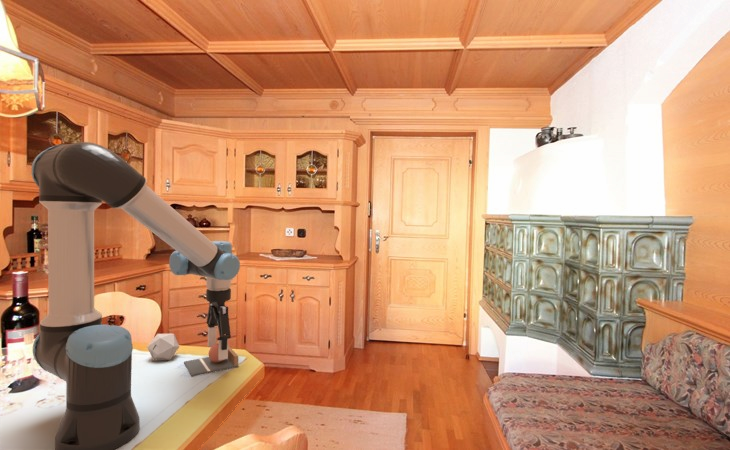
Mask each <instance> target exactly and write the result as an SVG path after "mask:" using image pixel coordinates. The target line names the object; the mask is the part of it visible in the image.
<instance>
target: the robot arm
mask: <svg viewBox="0 0 730 450" xmlns="http://www.w3.org/2000/svg"><path fill="white" fill-rule="evenodd" d="M30 169H31V170H30V172H31V177H32V179H33V181H34V183H35V184H36V186H37V188H38V194H39V195H38V197H39V199H38V201H39V202H38V203H39V204H41V205H42V206H43V207H44V208H46V210H47V219H48V220H47V234H48V235H47V237H48V238H47V240H48V241H47V254H48V255H47V256H48V257H47V259H48V261H47V263H48V265H47V266H48V267H47V268H48V269H47V270H48V272H47V274H48V277H47V278H48V279H47V280H48V283H47V284H48V285H47V286H48V313H47V315H46V316H44V317H43V318H42V319H41V320H40V322H39V333H38V334H37V336H36V337H35V338H34V341H33V344H32V356H33V358H34V360H35V361H36V364H38V366H39V367H40V368H41V369H42V370H44V371H45V372H48V373H49V374H52V375H53V376H56V378H57V377H58V378H59V379H61V380H63V381H65V383H66V389H65V391H66V393H65V394H66V395H65V397H66V406H65V411H64V414H63V417H62V419H61V423H60V424H59V427H58V430H57V432H56V435H55V441H54V449H55V450H116V449H118V448H120V447H122V446H124V445H125V444H126V443H128V442H130V441H132V439H134V438H135V436H136V435H137V434H138V433H139V430H140V421H141V420H140V415H139V412H138V410H137V407H136V405H135V403H134V400H133V397H132V369H133V368H132V367H133V365H132V364H133V361H132V360H133V357H132V356H133V349H134V347H133V341H132V335H131V333H130V331H129V330H128V329H126V328H125V327H123V326H120V325H115V324H113V325H109V324H103V314H102V313H101V312H100V311H98V310H97V309H96V308H95V211H96V209H98V208H99V207H100V206H101V205H102V204H103V203H105V204H106V205H108V206H109V207H111V208H112V209H116V210H117V209H121V210H122V211H124V212H125V213H126V214H128V215H129V216H130V217H131V218H133V219H134V220H136V221H137V222H138V223H139V224H140V225H142V226H144V227H145V228H146V229H148V230H149V231H151V233H153V234H154V235H155V236H157V237H158V238H159V239H161V240H162V241H163V242H165V243H166V244H167V245H168V246H170V247H171V248H172V249H174V251H173V252H172V253H171V254H170V256H169V263H168V264H169V265H168V266H169V270H170V271H171V273H172V274H173V275H175V276H187V275H194V276H199V277H205V278H206V285H205V286H206V288H207V289H206V292H205V293H206V294H205V295H206V301H207V302H209V303H208V310H207V315H206V316H207V317H206V324H207V327H208V328H207V347H208V348H211V347H212V346H213V345H215V344H218V343H219V349H218V360H224V359H228V346H229V339H231V338H232V337H231V336H232V335H231V327H230V317H229V307H228V306H227V305H226V304H225V303H226V302H229V301H230V300H231V298H232V290H231V286H232V281H233V279H234V278H235V277H237V275H238V274H239V271H240V269H241V262H240V259H239V257H238V256H237V255H235V254H233V247H232V242H230V241H227V240H226V241H225V240H212V241H211V240H210V239H209V238H208V237H207V236H205V234H203V232H201V231H200V230H199V229H197V227H195V226H194V225H193V224H191V222H189V221H188V220H187V219H186V218H185V217H184V216H183V215H181V214H180V213H179V212H178V211H177V210H175V209H174V208H173V207H172V206H171V205H170V204H168V203H167V201H165V200H164V199H163V198H162V197H160V195H158V194H157V192H155V191H154V190H153V189H152V188H151V187H149V186H148V185H147V182H148V181H147V178H146V177H145V176H143V175H142V174H141V173H140V172H139V171H138V170H137V169H135V167H133V166H132V165H131V164H130V163H128V162H127V161H126V160H125V159H123V158H122V157H121V156H119V155H118V154H117V153H115V152H114V151H112V150H110V149H109V148H107V147H105V146H103V145H101V144H98V143H94V142H87V141H80V142H75V143H70V144H59V145H53V146H51V147H48V148H46V149H45V150H43V151H41V152H40V153H39V154H38V155H36V157H35V158H34V160H33V162H32V164H31V168H30ZM217 333H218V334H217ZM218 335H219V337H217V336H218ZM217 342H218V343H217Z"/></svg>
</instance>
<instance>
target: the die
mask: <svg viewBox="0 0 730 450" xmlns="http://www.w3.org/2000/svg"><path fill="white" fill-rule="evenodd" d="M146 348H147V350H148V351H149V354H150V356H151V358H152V361H171V359H173V356H175V354H176V352H177V351H178V350H179V348H180V345H179V342H178V340H177V338H176V335H175V334H174V333H156V335H155V336H154V337H153V339H152V340H151V341H150V342H149V344H148V345H147V346H146Z"/></svg>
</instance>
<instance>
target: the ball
mask: <svg viewBox="0 0 730 450" xmlns="http://www.w3.org/2000/svg"><path fill="white" fill-rule="evenodd" d="M218 349H219V342H218V343H217V344H215V345H213V346H212V347H209V350H208V357H209V358H210V360H211V361H213V362H216V363H219V362H222V361H223V360H218ZM224 360H225V359H224Z"/></svg>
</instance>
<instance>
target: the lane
mask: <svg viewBox="0 0 730 450" xmlns="http://www.w3.org/2000/svg"><path fill="white" fill-rule="evenodd" d="M183 364H184V366H185V367H186V369H187V371H188V373H189V374H190V376H191V377H198V376H201V375H207V374H210V373H211V372H212V373H216V372H215V371H217V372H221V371H226V370H231V369H235V368H238V367H239V355H238V354H237V353H236V352H235V351H234V350H233V348H231V347H230V345H228V359H225V360H223V361H222V362H219V363H216V362H213V361H211V360H210V358H209V356H206V357H200V358H196V359H191V360H190V359H189V360H185V361H184V362H183ZM220 370H221V371H220ZM212 373H211V374H212Z"/></svg>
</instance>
